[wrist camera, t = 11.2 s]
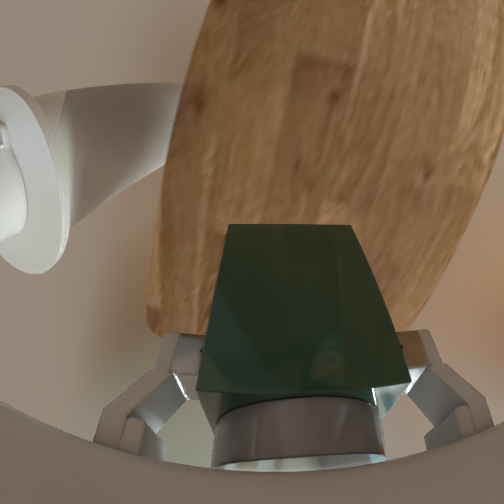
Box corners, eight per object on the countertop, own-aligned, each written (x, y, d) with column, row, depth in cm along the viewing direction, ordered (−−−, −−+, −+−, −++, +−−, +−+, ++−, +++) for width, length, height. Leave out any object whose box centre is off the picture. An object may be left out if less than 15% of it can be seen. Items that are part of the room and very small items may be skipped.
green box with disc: (361, 479, 9) (427, 434, 5) (217, 485, 9) (184, 449, 6) (333, 310, 18) (351, 224, 14) (235, 311, 18) (228, 223, 14)
